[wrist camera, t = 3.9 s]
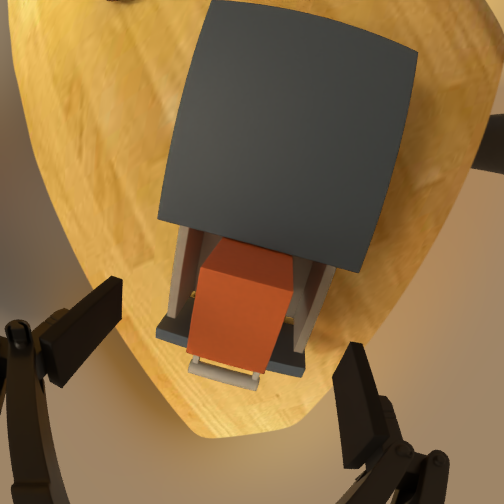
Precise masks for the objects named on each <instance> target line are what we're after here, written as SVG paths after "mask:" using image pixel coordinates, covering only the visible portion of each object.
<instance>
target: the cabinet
mask: <svg viewBox="0 0 504 504" xmlns="http://www.w3.org/2000/svg"><path fill="white" fill-rule="evenodd" d="M417 58H418V52H417V51H415V50H413V49H410V48H408V47H406V46H404V45H402V44H399V43H397V42H395V41H392V40H390V39H387V38H385V37H382V36H380V35H377V34H374V33H372V32H369V31H366V30H363V29H360V28H357V27H354V26H351V25H348V24H345V23H342V22H338V21H335V20H331V19H328V18H324V17H320V16H316V15H312V14H308V13H304V12H299V11H295V10H290V9H285V8H279V7H274V6H267V5H261V4H254V3H245V2H236V1H225V0H212V1H211V3H210V6H209V9H208V12H207V15H206V17H205V20H204V23H203V26H202V29H201V32H200V35H199V38H198V42H197V45H196V48H195V51H194V55H193V58H192V61H191V65H190V68H189V72H188V75H187V79H186V83H185V86H184V90H183V94H182V98H181V102H180V106H179V110H178V114H177V118H176V122H175V127H174V131H173V136H172V140H171V145H170V150H169V155H168V160H167V165H166V170H165V176H164V181H163V187H162V193H161V199H160V205H159V211H158V219H159V220H162V221H166V222H170V223H174V224H178V225H181V226H185V227H189V228H193V229H197V230H200V231H204V232H208V233H212V234H215V235H219V236H223V237H227V238H230V239H234V240H238V241H242V242H245V243H249V244H253V245H256V246H260V247H264V248H268V249H271V250H275V251H279V252H282V253H286V254H290V255H293V256H297V257H301V258H305V259H308V260H312V261H316V262H319V263H323V264H326V265H330V266H334V267H337V268H341V269H345V270H348V271H352V272H356V273H359V272H360V269H361V266H362V264H363V261H364V258H365V256H366V253H367V250H368V248H369V245H370V242H371V239H372V236H373V233H374V231H375V228H376V225H377V222H378V219H379V216H380V213H381V209H382V206H383V203H384V200H385V197H386V193H387V190H388V187H389V183H390V180H391V177H392V173H393V169H394V166H395V162H396V158H397V155H398V151H399V147H400V143H401V139H402V135H403V131H404V126H405V122H406V117H407V113H408V108H409V103H410V98H411V93H412V88H413V82H414V77H415V71H416V64H417Z"/></svg>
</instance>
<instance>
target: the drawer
mask: <svg viewBox="0 0 504 504" xmlns="http://www.w3.org/2000/svg"><path fill="white" fill-rule="evenodd" d="M222 238H223V236H219V235H215V234H212V233H208V232H204V231H200V230H197V229H193V228H189V227H185V226H181V225H180V227H179V233H178V239H177V245H176V251H175V258H174V265H173V272H172V279H171V287H170V294H169V303H168V311H167V313H166V315H165V316H164V318H163V319H162V320H161V322H160V323H159V325H158V326H157V328H156V338H158V339H161V340H164V341H167V342H170V343H173V344H176V345H179V346H182V347H185V348H187V343H188V337H189V330H190V324H191V318H192V312H193V306H194V300H195V298H193V297H190V295H191V293H192V292H193V291H196V289H197V283H198V278H199V273H200V267H201V266H202V265H203V263H204V262H205V260H206V259H207V258H208V256H209V255H210V254H211V252H212V251H213V250H214V248H215V247H216V246H217V244H218V243H219V242H220V240H221V239H222ZM292 257H293V290H294V293H293V296H292V299H291V302H290V304H289V307H288V310H287V313H286V316H287V317H291V318H294V325H292V324H288V323H284V322H283V324H282V327H281V330H280V333H279V335H278V338H277V341H276V344H275V346H274V349H273V352H272V355H271V357H270V360H269V363H268V365H267V368H266V370H268V371H272V372H277V373H281V374H286V375H290V376H295V377H300V378H301V377H302V375H303V373H304V371H305V369H306V368H305V346H306V344H307V341H308V339H309V337H310V334H311V332H312V329H313V327H314V325H315V322H316V320H317V317H318V315H319V312H320V310H321V307H322V305H323V302H324V300H325V297H326V295H327V292H328V289H329V287H330V284H331V281H332V279H333V276H334V273H335V271H336V268H337V267H334V266H330V265H326V264H323V263H319V262H316V261H312V260H308V259H305V258H301V257H297V256H293V255H292ZM199 360H200V357H199V356H196V355H193V359H191V361H190V364H189V368H188V372H189V373H192V374H195V375H198V376H201V377H205V378H208V379H212V380H215V381H219V382H222V383H226V384H230V385H233V386H237V387H241V388H245V389H249V390H253V391H256V390H257V388H258V384H259V380H260V377H259V375H260V373H257V372H253V375H249V374H245V373H241V372H237V371H233V370H229V369H226V368H222V367H219V366H215V365H212V364H208V363H205V362H202V361H199Z"/></svg>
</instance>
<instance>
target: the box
mask: <svg viewBox="0 0 504 504" xmlns="http://www.w3.org/2000/svg"><path fill="white" fill-rule="evenodd" d="M293 293H294V290H293V257H292V255H290V254H286V253H282V252H279V251H275V250H271V249H268V248H264V247H260V246H256V245H253V244H249V243H245V242H242V241H238V240H234V239H230V238H227V237H223V238H222V239H221V240H220V242H219V243H218V244H217V246H216V247H215V248H214V250H213V251H212V252H211V254H210V255H209V256H208V258H207V259H206V260H205V262H204V263H203V265H202V266H201V267H200V273H199V278H198V283H197V289H196V295H195V300H194V306H193V312H192V318H191V324H190V330H189V337H188V343H187V350H186V352H187V353H189V354H193V355H196V356H199V357H202V358H206V359H209V360H212V361H216V362H219V363H223V364H227V365H230V366H234V367H238V368H241V369H245V370H249V371H253V372H257V373H261V374H264V373H265V370H266V368H267V365H268V363H269V360H270V357H271V355H272V352H273V349H274V346H275V344H276V341H277V338H278V335H279V333H280V330H281V327H282V324H283V322H284V319H285V316H286V313H287V310H288V307H289V304H290V302H291V299H292V296H293Z"/></svg>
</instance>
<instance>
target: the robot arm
mask: <svg viewBox="0 0 504 504" xmlns="http://www.w3.org/2000/svg"><path fill="white" fill-rule="evenodd" d="M122 286H123V279H120V278H117V277H114V276H110V277H109V278H108V279H107V280H105V281H104V282H103V283H102V284H101V285H99V286H98V287H97V288H96V289H94V290H93V291H92V292H91V293H89V294H88V295H87V296H86V297H85V298H83V299H82V300H81V301H80V302H79V303H77V304H76V305H75V306H74V307H73V308H72V309H70V310H68V309H65V308H63V309H60V310H58V311H56V312H54V313H53V314H52V315H51V316H50V317H49V318H47V319H46V320H45V322H42V323H41V324H40V325H39V326H38V327H36V328H35V329H34V330H33V331H32V332H31V329H30V325H29V324H28V322H26V321H24V320H13V321H11V322H9V323H8V324H7V325H6V326H5V332H6V336H7V338H5V337H2V336H0V414H1V409H2V406H3V402H4V398H5V394H6V410H7V428H8V440H9V449H10V457H11V465H12V471H13V477H14V484H13V485H12V486H11V494H12V499H13V503H14V504H70V502H69V500H68V497H67V493H66V490H65V487H64V483H63V480H62V477H61V473H60V469H59V465H58V461H57V457H56V452H55V448H54V443H53V439H52V433H51V428H50V422H49V416H48V409H47V402H46V393H45V385H44V379H43V377H44V376H45V375H46V374H48V377H49V380H50V382H52V383H53V384H55V385H57V386H58V387H60V388H63V386H64V385H65V384H66V383H67V382H68V380H69V379H70V378H71V377H72V376H73V374H74V373H75V372H76V371H77V370H78V368H79V367H80V366H81V365H82V364H83V362H84V361H85V360H86V359H87V358H88V357H89V356H90V354H91V353H92V352H93V351H94V349H96V347H97V346H98V345H99V344H100V343H101V342H102V340H103V339H104V338H105V337H106V336H107V335H108V333H109V332H110V331H111V330H112V329H113V328H114V327H115V326H116V325H117V323H118V322H119V321H120V320H121V319H122ZM332 380H333V386H334V393H335V400H336V407H337V415H338V422H339V430H340V438H341V446H342V454H343V455H342V456H343V465H344V469H359V468H360V467H361V466H362V465H363V464H364V463H365V465H366V470H365V471H364V472H363V473H362V474H361V475H359V476H358V477H357V478H356V479H355V480H356V482H354V484H353V485H352V486H351V487H350V488H349V490H348V491H347V492H346V493H345V494H344V495H343V496H342V497H341V499H340V500H339V501H338V502H337V503H336V504H386V502H387V501H388V499H389V498H390V496H391V494H392V493H393V492H394V490H395V492H394V495H393V498H392V501H391V504H444V502H445V496H446V489H447V482H448V474H449V466H450V463H449V458H448V456H447V455H446V454H445V453H444V452H442V451H441V450H434V451H432V452H431V453H429V454H428V455H424V454H420V453H416V452H414V449H413V447H412V445H410V444H409V443H408V442H406V441H404V440H403V438H402V435H401V431H400V428H399V425H398V422H397V419H396V415H395V413H394V409H393V406H392V403H391V402H390V401H389V399H388V398H387V397H386V396H381V395H378V391H377V388H376V384H375V381H374V378H373V375H372V372H371V369H370V366H369V362H368V359H367V356H366V353H365V350H364V347H363V344H361V343H356V342H351V341H350V343H349V345H348V347H347V349H346V351H345V353H344V355H343V357H342V359H341V361H340V363H339V365H338V367H337V368H336V370H335V372H334V374H333V376H332Z"/></svg>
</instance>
